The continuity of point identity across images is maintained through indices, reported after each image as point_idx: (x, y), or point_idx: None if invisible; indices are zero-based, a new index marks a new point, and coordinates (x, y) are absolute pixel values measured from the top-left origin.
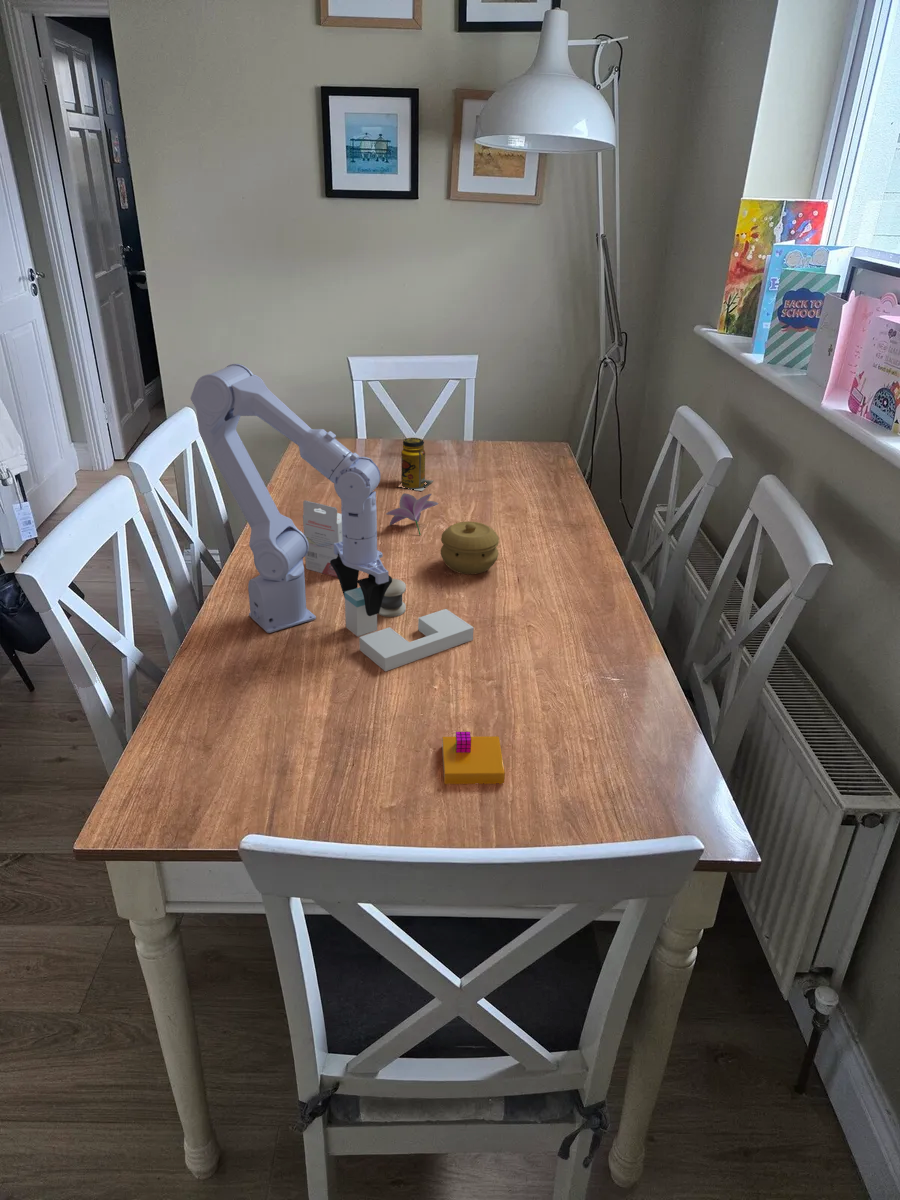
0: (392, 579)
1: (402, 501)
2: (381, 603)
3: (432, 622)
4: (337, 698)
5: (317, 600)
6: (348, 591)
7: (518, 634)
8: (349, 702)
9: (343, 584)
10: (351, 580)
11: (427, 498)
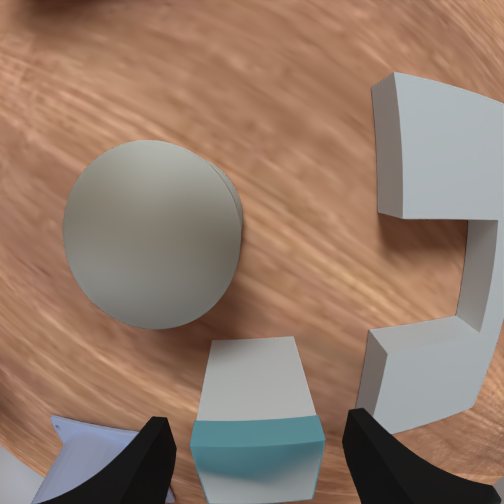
0: (83, 188)
1: None
2: (388, 432)
3: (454, 194)
4: (436, 461)
5: (49, 375)
6: (212, 497)
7: (488, 19)
8: (455, 449)
9: (162, 502)
10: (149, 488)
11: None
